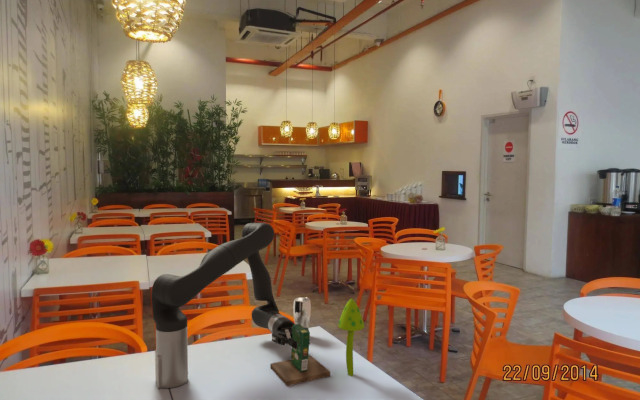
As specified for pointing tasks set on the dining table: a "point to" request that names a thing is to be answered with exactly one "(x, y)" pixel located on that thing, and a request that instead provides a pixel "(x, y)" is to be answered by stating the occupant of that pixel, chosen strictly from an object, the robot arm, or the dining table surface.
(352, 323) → the mushroom
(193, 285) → the robot arm
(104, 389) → the dining table surface
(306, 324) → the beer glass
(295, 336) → the coffee box
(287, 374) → the walnut board
